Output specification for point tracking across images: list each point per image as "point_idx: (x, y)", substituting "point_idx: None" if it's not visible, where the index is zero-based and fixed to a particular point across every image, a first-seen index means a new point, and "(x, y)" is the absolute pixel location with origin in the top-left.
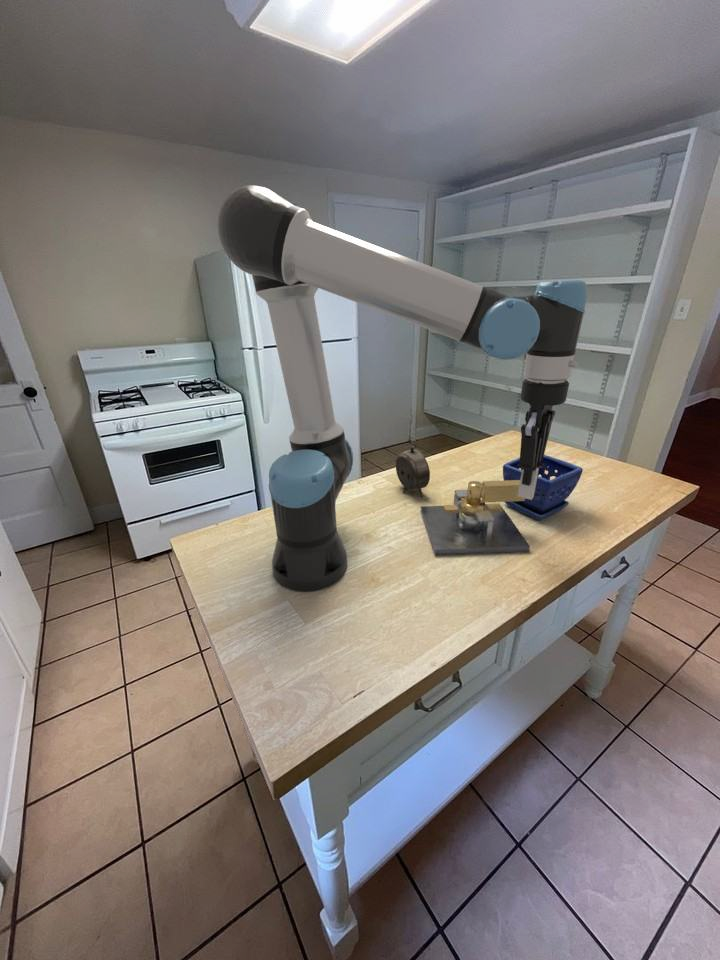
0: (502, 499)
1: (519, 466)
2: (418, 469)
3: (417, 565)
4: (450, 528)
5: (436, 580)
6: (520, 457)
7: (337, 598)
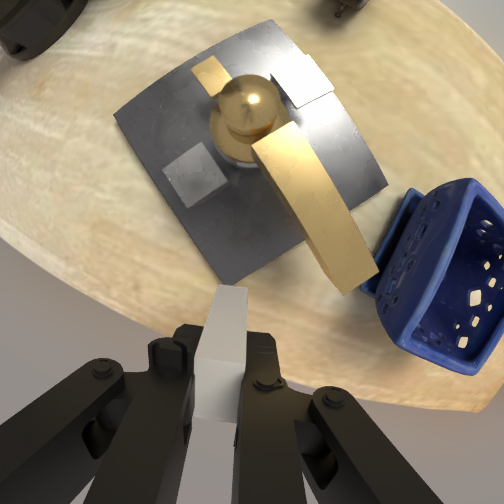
0: (287, 210)
1: (86, 365)
2: None
3: (84, 110)
4: (206, 103)
5: (65, 157)
6: (35, 403)
7: (11, 83)
